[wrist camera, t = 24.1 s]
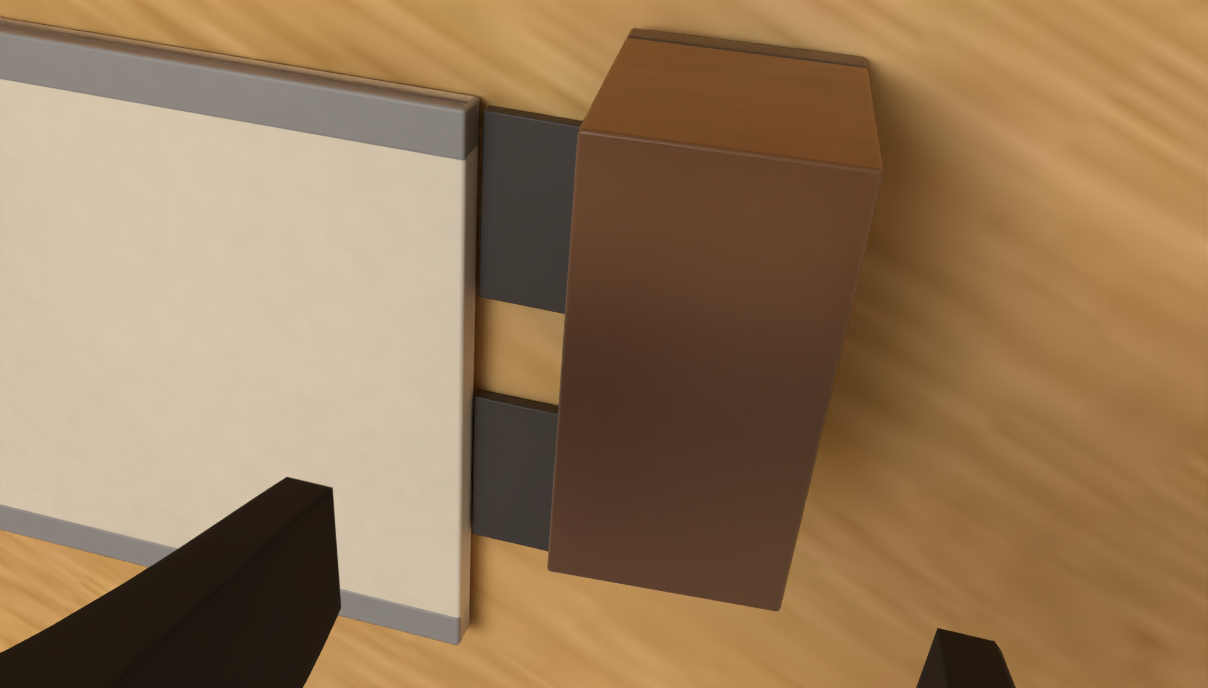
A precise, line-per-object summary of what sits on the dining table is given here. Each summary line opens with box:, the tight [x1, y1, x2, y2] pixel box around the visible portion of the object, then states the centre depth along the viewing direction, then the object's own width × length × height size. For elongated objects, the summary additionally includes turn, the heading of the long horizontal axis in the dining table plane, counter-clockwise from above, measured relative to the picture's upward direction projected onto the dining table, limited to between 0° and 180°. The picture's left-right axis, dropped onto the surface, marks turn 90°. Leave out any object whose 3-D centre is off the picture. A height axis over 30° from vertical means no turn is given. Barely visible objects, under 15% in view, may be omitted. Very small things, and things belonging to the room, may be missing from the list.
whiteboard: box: [0, 18, 479, 645], centre depth 25 cm, size 14×20×1 cm
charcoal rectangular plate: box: [472, 390, 559, 551], centre depth 24 cm, size 4×3×1 cm
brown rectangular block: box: [547, 28, 884, 611], centre depth 18 cm, size 8×4×5 cm, turn 175°
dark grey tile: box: [479, 106, 582, 314], centre depth 21 cm, size 4×3×1 cm
